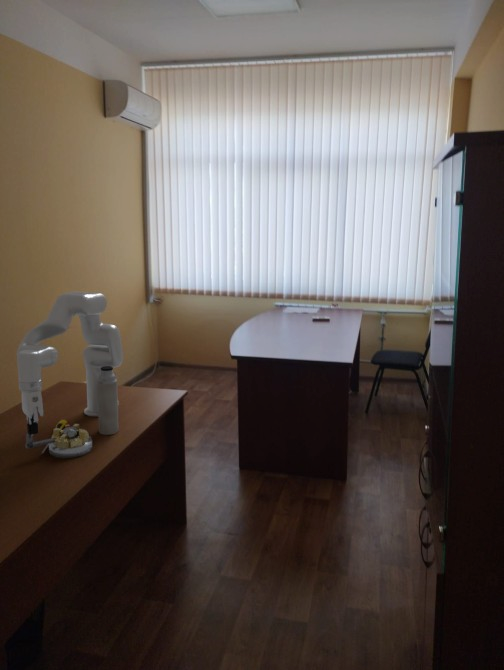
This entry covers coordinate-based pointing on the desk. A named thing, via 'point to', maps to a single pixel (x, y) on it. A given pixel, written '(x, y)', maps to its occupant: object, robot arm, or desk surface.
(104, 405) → the thermos bottle
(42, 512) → the desk surface
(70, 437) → the plate with blocky chunks
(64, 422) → the screwdriver
